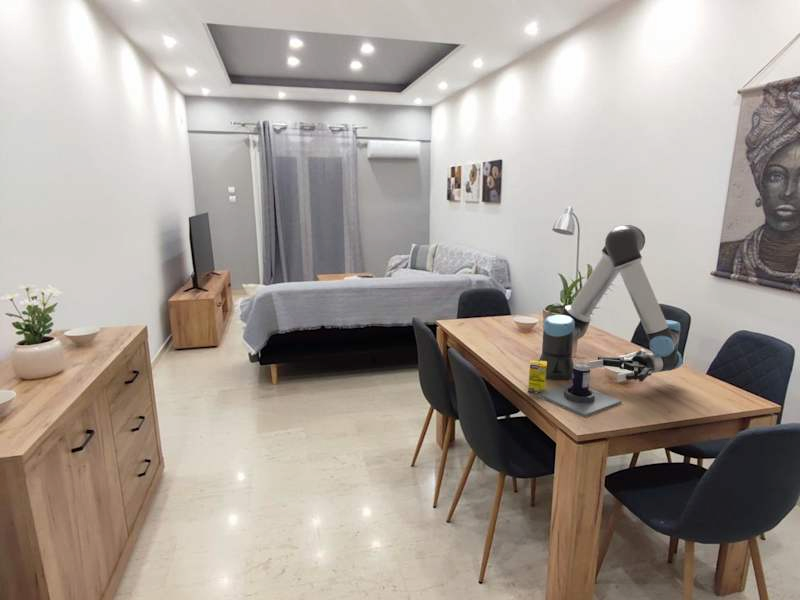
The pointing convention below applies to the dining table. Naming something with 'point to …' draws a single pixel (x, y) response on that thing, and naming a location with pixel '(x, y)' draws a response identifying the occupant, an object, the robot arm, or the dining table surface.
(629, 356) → the cloth
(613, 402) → the ring socket
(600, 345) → the dining table surface
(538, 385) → the supplement box
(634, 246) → the robot arm
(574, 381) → the beverage can
